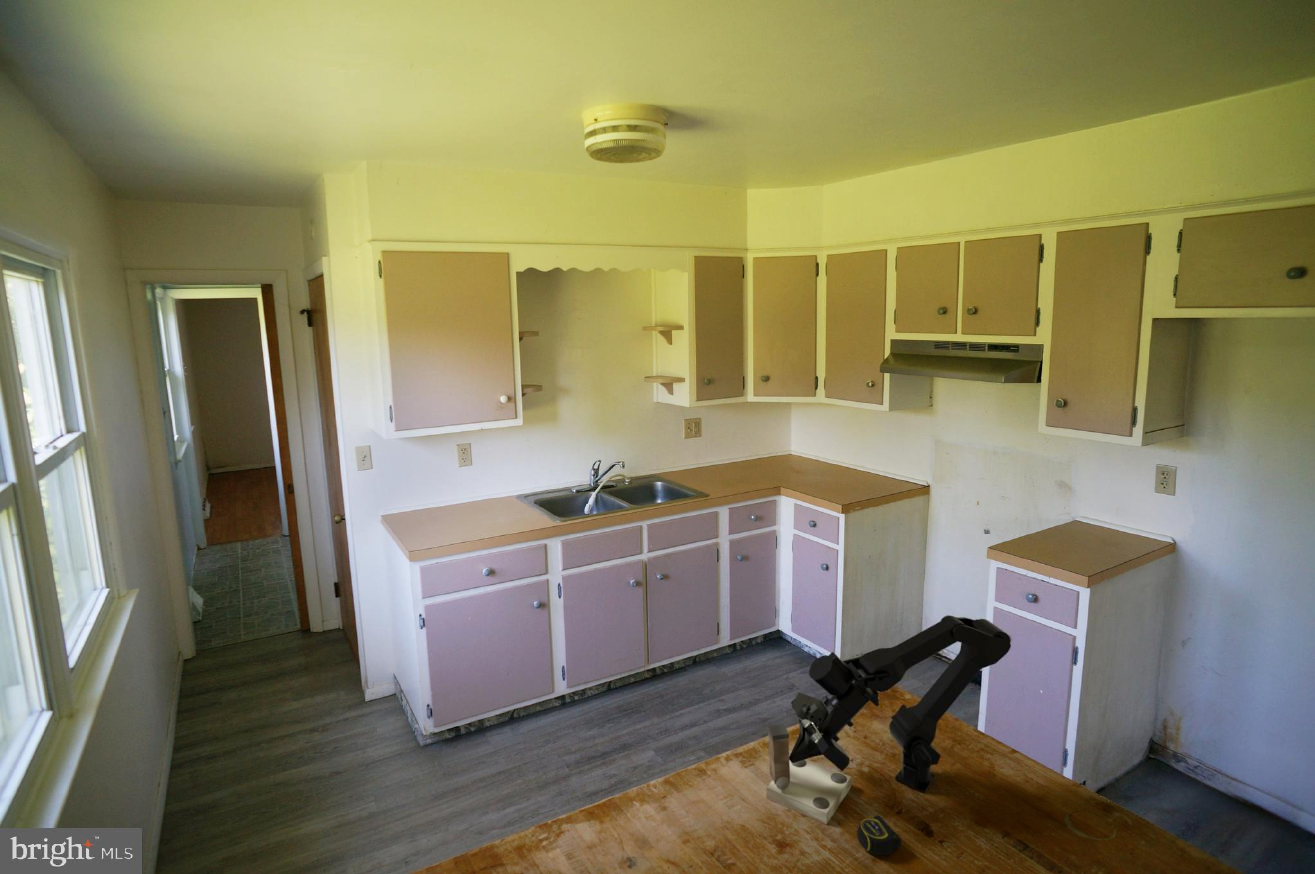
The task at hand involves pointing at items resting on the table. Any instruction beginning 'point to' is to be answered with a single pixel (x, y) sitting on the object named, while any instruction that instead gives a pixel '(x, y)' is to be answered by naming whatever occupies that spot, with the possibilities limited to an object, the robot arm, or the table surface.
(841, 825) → the table surface
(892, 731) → the robot arm
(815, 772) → the stool seat
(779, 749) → the folding leg
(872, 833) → the tape measure
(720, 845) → the table surface
